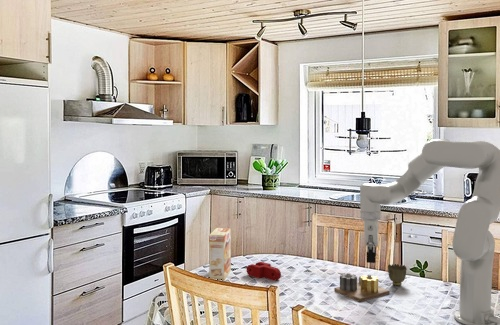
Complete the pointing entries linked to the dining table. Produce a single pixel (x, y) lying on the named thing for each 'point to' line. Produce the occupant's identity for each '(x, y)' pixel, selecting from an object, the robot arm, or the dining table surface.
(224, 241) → the coffeecake box
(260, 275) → the mechanical linkage
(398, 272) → the cup
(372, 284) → the brass gear
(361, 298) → the gear board
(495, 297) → the dining table surface
